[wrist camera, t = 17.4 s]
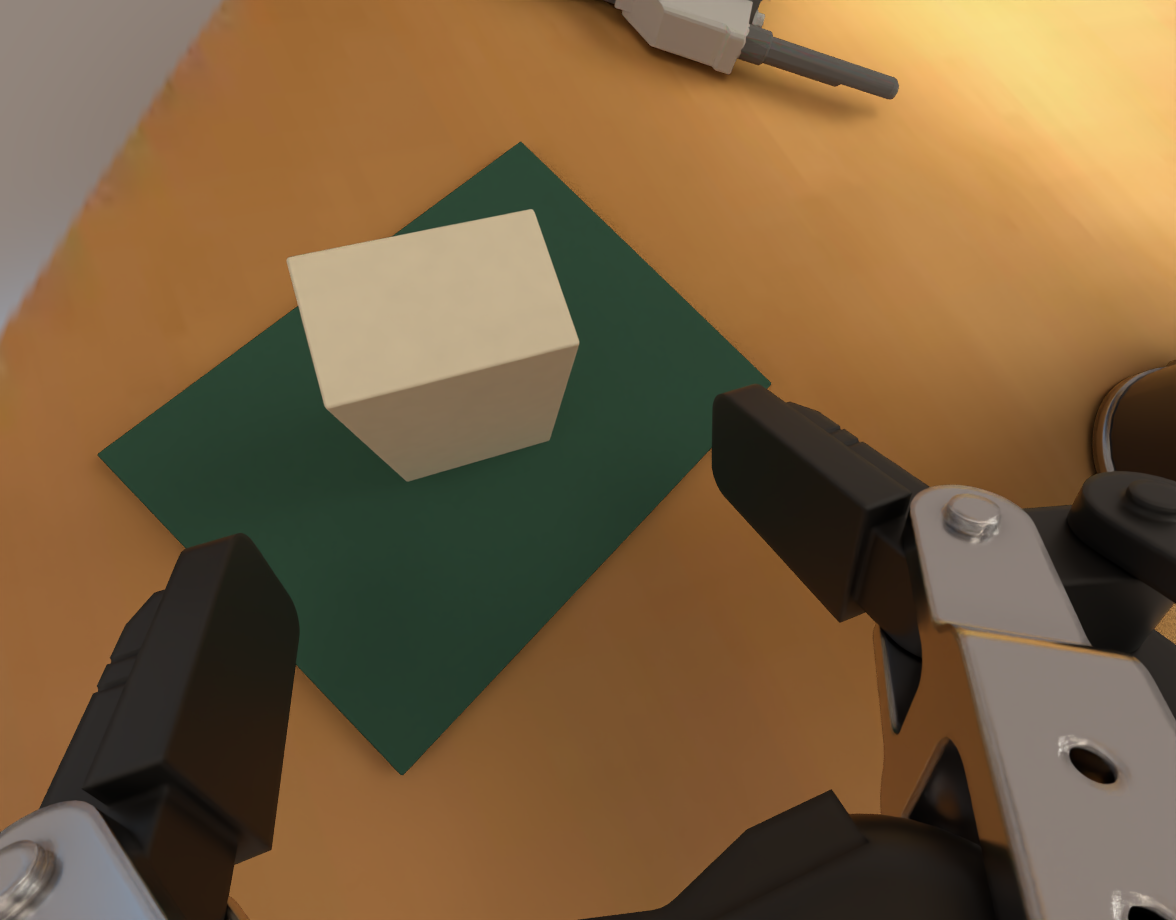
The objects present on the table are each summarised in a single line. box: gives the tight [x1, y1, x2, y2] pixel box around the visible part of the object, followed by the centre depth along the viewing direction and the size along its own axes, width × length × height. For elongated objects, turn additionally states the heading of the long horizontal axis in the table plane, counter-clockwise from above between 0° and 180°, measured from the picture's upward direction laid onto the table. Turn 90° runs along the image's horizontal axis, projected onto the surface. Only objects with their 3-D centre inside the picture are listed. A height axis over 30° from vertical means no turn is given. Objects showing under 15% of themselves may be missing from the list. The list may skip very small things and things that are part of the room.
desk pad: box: [98, 142, 771, 775], centre depth 21 cm, size 20×15×1 cm
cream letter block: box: [287, 209, 579, 481], centre depth 16 cm, size 6×4×9 cm
